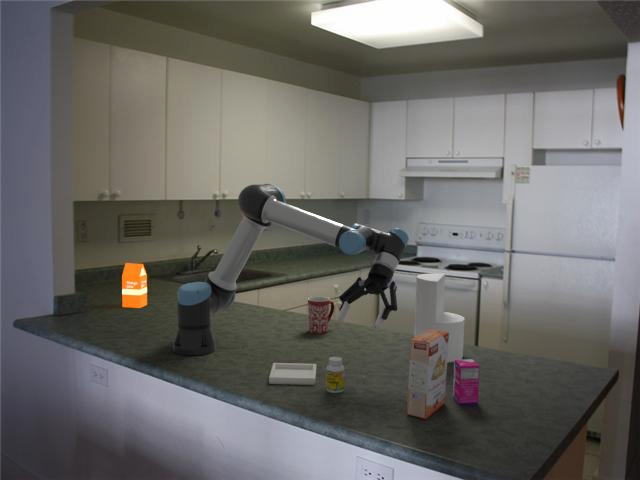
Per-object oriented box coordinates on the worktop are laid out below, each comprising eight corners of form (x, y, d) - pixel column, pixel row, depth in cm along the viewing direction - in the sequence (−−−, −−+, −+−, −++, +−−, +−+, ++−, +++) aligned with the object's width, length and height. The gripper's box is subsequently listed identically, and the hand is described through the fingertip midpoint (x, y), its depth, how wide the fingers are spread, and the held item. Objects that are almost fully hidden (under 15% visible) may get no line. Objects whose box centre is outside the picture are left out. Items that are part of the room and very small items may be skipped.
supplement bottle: (346, 388, 181) (347, 357, 180) (340, 394, 176) (341, 362, 175) (329, 386, 183) (330, 355, 181) (323, 391, 178) (324, 360, 176)
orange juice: (129, 303, 288) (129, 261, 286) (147, 304, 287) (146, 262, 285) (122, 307, 281) (121, 264, 278) (140, 308, 279) (139, 265, 277)
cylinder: (408, 358, 211) (412, 279, 208) (418, 345, 227) (421, 272, 224) (459, 365, 205) (463, 283, 202) (465, 351, 221) (469, 275, 218)
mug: (316, 335, 238) (317, 302, 237) (302, 330, 245) (302, 298, 244) (340, 331, 246) (341, 298, 245) (326, 326, 253) (327, 294, 252)
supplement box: (451, 397, 175) (453, 359, 174) (471, 397, 176) (473, 358, 174) (458, 405, 169) (460, 365, 168) (478, 404, 170) (480, 365, 169)
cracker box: (427, 420, 158) (430, 342, 156) (406, 415, 162) (408, 338, 159) (446, 404, 170) (450, 331, 168) (426, 399, 173) (429, 327, 171)
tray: (268, 383, 183) (269, 377, 183) (273, 368, 197) (273, 362, 197) (315, 384, 183) (315, 378, 183) (316, 369, 197) (316, 363, 197)
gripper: (421, 280, 192) (397, 337, 181) (354, 272, 206) (329, 324, 196) (414, 266, 187) (389, 323, 177) (346, 259, 202) (319, 311, 191)
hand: (357, 324), depth 186 cm, fingers open, 13 cm apart
